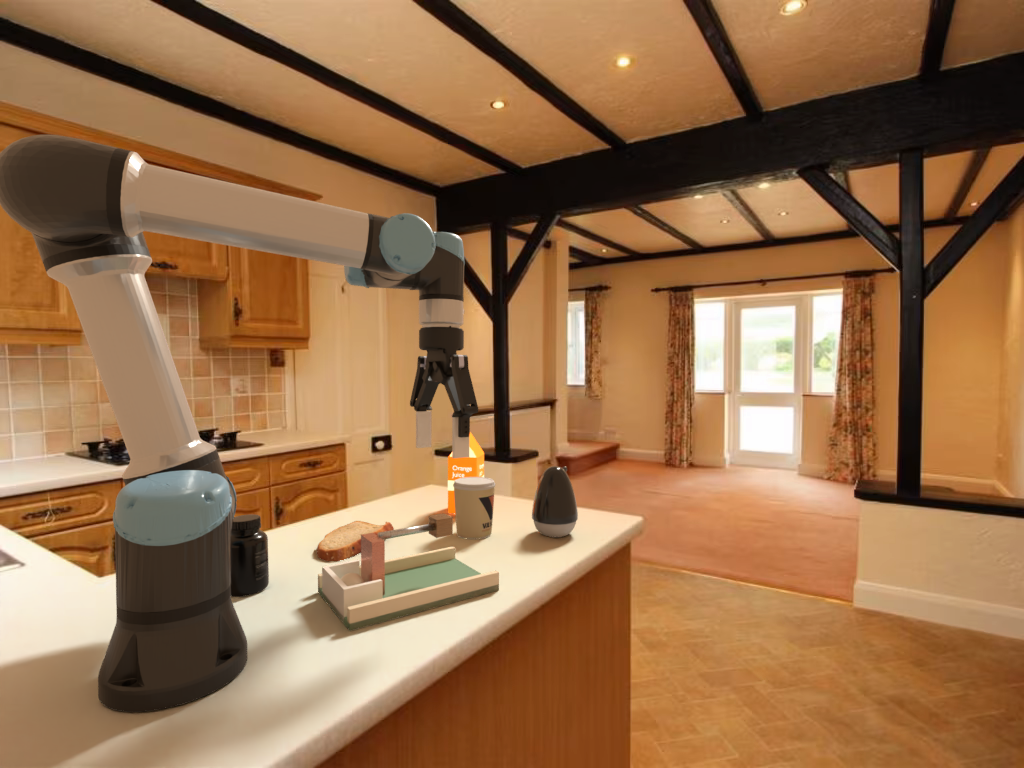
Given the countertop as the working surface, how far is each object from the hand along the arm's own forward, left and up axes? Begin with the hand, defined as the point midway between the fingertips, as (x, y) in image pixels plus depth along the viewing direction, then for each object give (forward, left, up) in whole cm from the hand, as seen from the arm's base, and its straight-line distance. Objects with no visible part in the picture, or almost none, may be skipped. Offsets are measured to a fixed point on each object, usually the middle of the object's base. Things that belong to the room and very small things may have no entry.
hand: (441, 452), depth 93 cm
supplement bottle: (-28, +16, -23) cm, 39 cm away
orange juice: (+28, +40, -23) cm, 54 cm away
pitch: (-6, 0, -22) cm, 23 cm away
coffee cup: (+19, +21, -23) cm, 36 cm away
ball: (-16, 0, -20) cm, 25 cm away
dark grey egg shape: (+34, +11, -23) cm, 42 cm away
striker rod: (-6, 0, -21) cm, 22 cm away
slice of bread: (-4, +29, -23) cm, 38 cm away
